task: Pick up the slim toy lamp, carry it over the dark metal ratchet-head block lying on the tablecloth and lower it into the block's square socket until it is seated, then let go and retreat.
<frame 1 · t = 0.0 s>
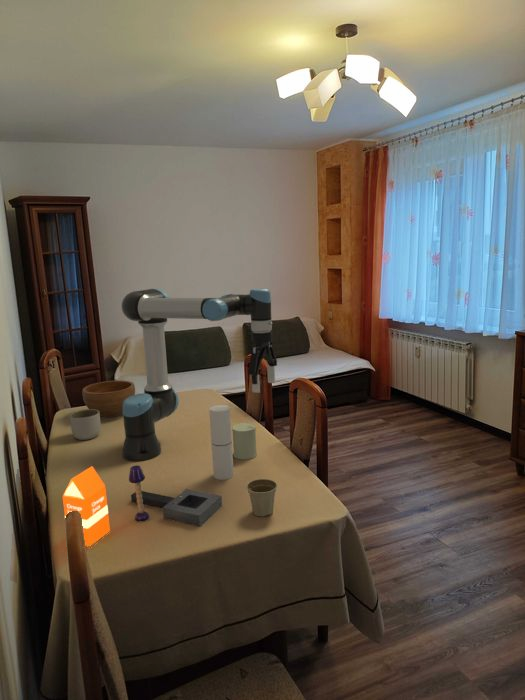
hand: (264, 387, 188), 28 cm above the table, fingers open, 13 cm apart
can: (245, 455, 197), on the table
cylindrical container: (223, 475, 180), on the table
bowl: (111, 416, 252), on the table
toy lamp: (140, 518, 153), on the table
orange juice: (89, 538, 143), on the table
planter: (87, 437, 224), on the table
flower pot: (262, 512, 154), on the table
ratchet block: (193, 512, 155), on the table
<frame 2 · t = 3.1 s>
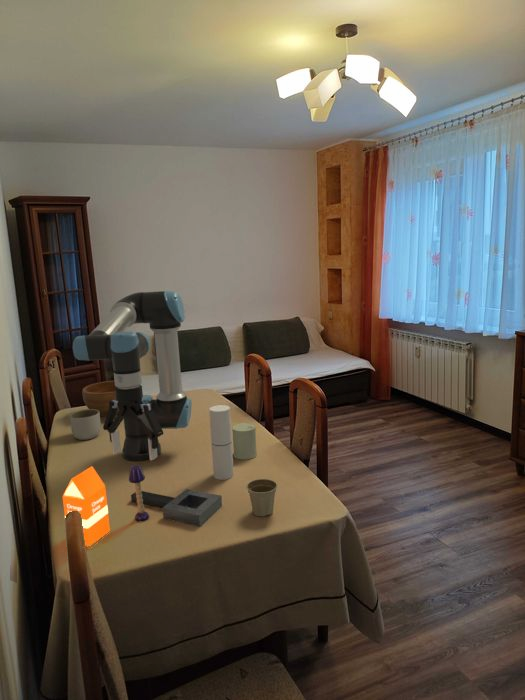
hand: (134, 455, 149), 20 cm above the table, fingers open, 13 cm apart
nothing on the table moved.
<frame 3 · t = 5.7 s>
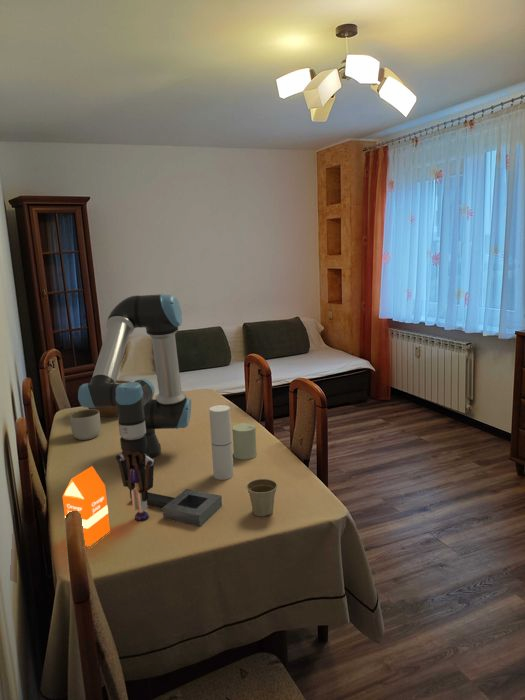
hand: (140, 509, 152), 3 cm above the table, fingers closed on toy lamp, 2 cm apart
toy lamp: (140, 518, 153), on the table, touching gripper
everything else where it was.
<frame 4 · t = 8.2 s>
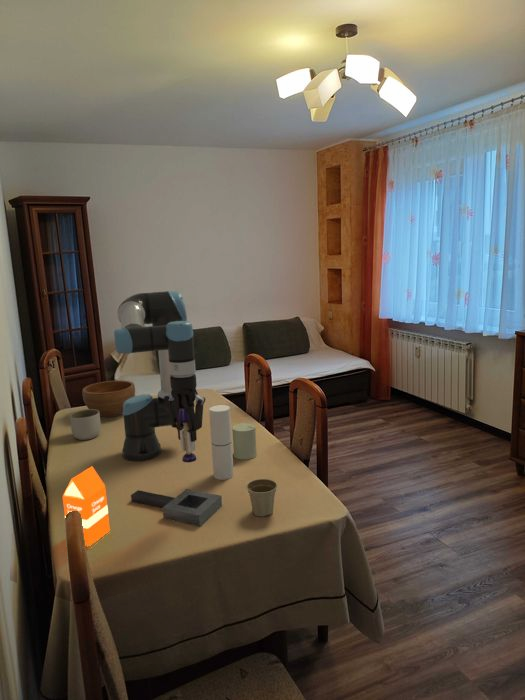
hand: (188, 450, 151), 20 cm above the table, fingers closed on toy lamp, 2 cm apart
toy lamp: (188, 460, 152), point 17 cm above the table, touching gripper
everything else where it was.
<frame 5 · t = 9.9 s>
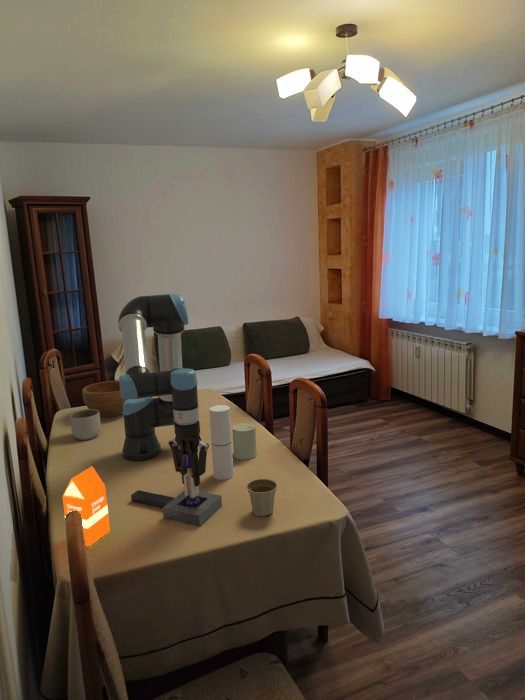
hand: (192, 494, 154), 6 cm above the table, fingers closed on toy lamp, 2 cm apart
toy lamp: (191, 503, 154), point 3 cm above the table, touching gripper
everything else where it was.
when the fingers open (5 cm above the table, at t = 10.9 s): toy lamp drops 1 cm, resting on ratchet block.
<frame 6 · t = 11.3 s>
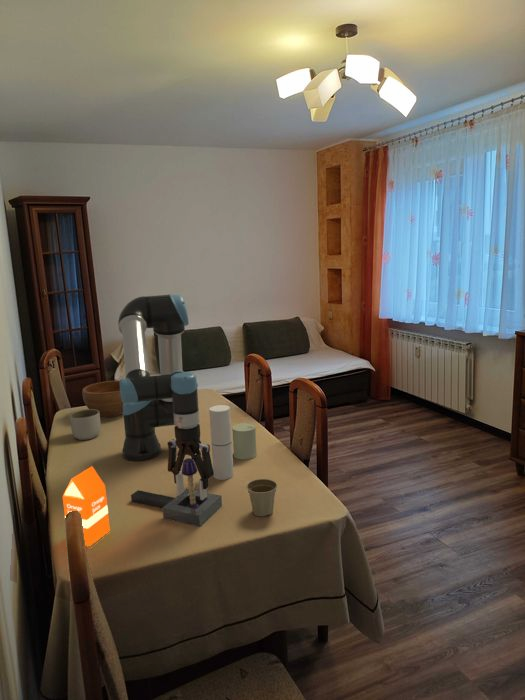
hand: (192, 495, 154), 5 cm above the table, fingers open, 8 cm apart
toy lamp: (192, 510, 155), resting on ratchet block
everything else where it was.
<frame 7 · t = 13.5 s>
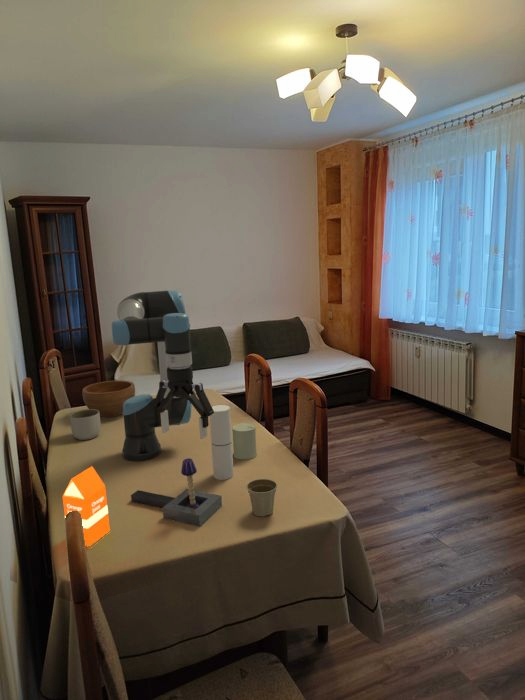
hand: (184, 434, 152), 25 cm above the table, fingers open, 13 cm apart
nothing on the table moved.
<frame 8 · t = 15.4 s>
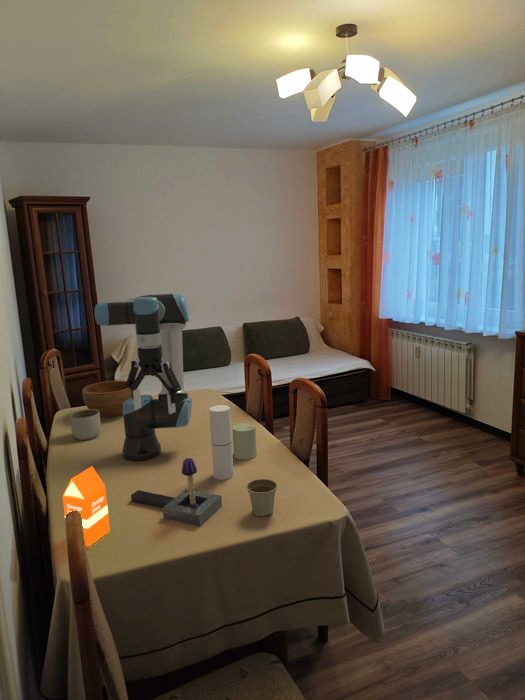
hand: (154, 410, 163), 29 cm above the table, fingers open, 13 cm apart
nothing on the table moved.
at the end: toy lamp 0.3 cm from the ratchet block (horizontally); toy lamp resting on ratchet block; toy lamp tilted 0° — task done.
